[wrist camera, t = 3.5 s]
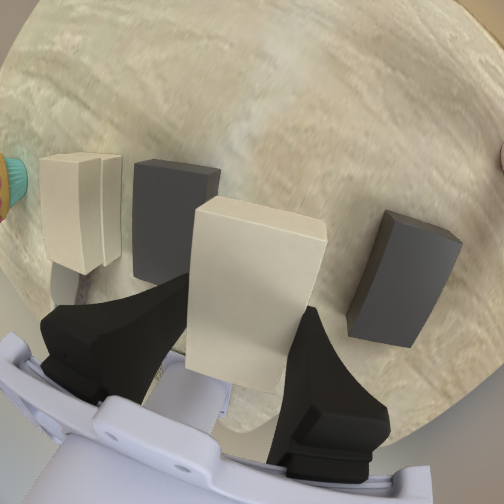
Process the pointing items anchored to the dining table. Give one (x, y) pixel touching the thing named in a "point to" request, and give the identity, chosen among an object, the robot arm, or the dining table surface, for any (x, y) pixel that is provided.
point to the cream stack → (81, 209)
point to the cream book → (248, 289)
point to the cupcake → (11, 183)
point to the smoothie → (502, 156)
